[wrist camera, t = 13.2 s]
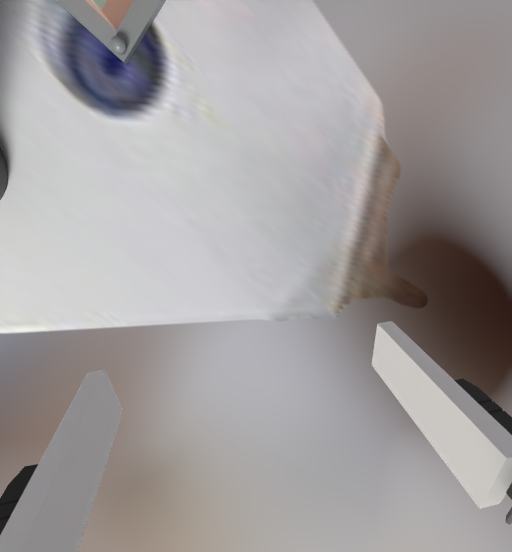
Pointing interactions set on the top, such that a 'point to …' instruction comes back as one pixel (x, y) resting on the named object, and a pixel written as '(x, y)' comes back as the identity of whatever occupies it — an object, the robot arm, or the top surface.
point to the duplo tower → (115, 21)
